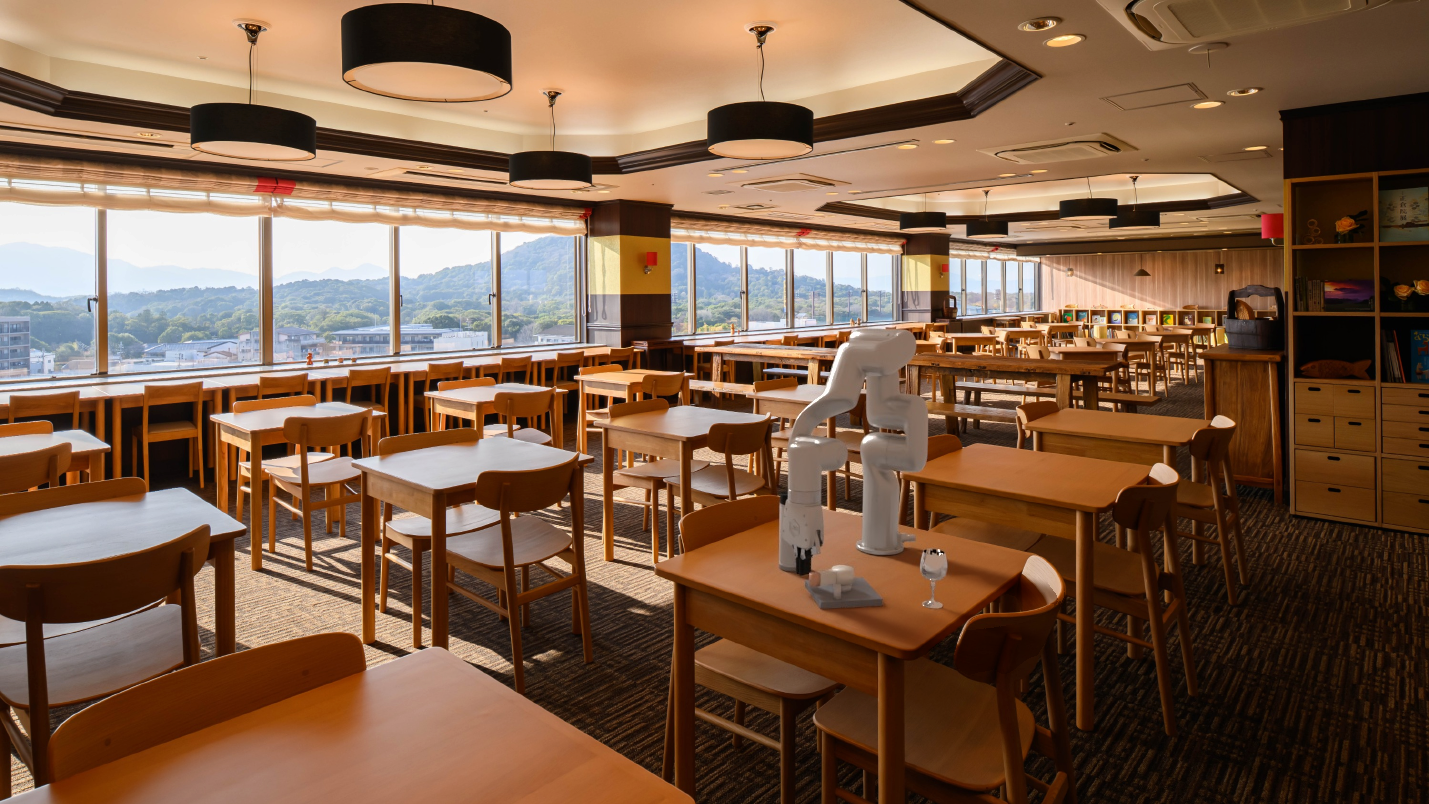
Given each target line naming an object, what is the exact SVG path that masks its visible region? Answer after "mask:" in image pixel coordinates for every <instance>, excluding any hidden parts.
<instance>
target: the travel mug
mask: <svg viewBox="0 0 1429 804" xmlns="http://www.w3.org/2000/svg"><path fill="white" fill-rule="evenodd" d="M787 499H788V489H786V490H783V491H781V493H779V517H778V518H779V522H778V523H779V528H778V529H779V531H778V532H779V534H778V535H779V536H778V537H779V539H778V541H779V542H778V543H779V545H778V546H779V548H778V560H779V561H778V568H779V569H780V570H782V571H785V572H793V573H794V572H795V573H796V557H795V555H794V549H793V546H791V545H790V544H789V543H788V542H786V541H785V540H784V539H783V517H784V509H785V504H786V500H787Z"/></svg>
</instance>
